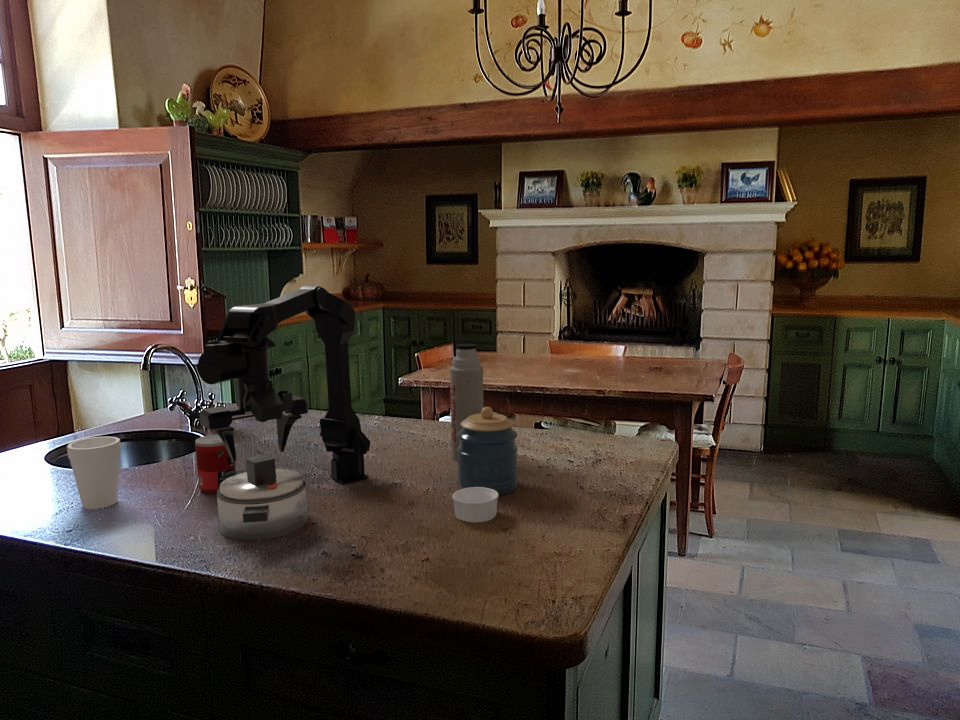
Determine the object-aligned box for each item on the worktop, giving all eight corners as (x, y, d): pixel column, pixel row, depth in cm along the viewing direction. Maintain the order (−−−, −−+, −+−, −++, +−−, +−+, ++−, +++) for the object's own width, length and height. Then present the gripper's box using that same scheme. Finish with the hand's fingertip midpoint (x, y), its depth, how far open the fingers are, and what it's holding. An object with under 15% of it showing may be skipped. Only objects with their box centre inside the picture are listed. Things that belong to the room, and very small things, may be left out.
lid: (283, 469, 144) (282, 442, 143) (316, 488, 132) (315, 459, 131) (208, 486, 134) (206, 457, 134) (237, 508, 123) (234, 476, 122)
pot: (229, 505, 144) (227, 471, 143) (310, 498, 147) (308, 466, 146) (208, 551, 122) (205, 513, 121) (304, 543, 125) (302, 505, 124)
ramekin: (465, 528, 131) (464, 505, 130) (445, 512, 139) (445, 491, 138) (506, 519, 135) (506, 497, 134) (485, 504, 143) (485, 483, 142)
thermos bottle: (452, 462, 170) (450, 347, 166) (451, 452, 178) (448, 342, 173) (485, 461, 171) (484, 346, 166) (482, 451, 179) (481, 341, 174)
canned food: (225, 494, 150) (221, 444, 148) (191, 492, 152) (187, 442, 150) (243, 482, 157) (240, 434, 156) (211, 481, 159) (207, 433, 157)
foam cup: (136, 498, 148) (130, 438, 146) (99, 514, 140) (92, 451, 138) (101, 493, 152) (94, 435, 149) (63, 509, 143) (56, 447, 141)
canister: (526, 481, 156) (526, 403, 153) (503, 501, 144) (503, 416, 141) (473, 474, 161) (472, 398, 158) (447, 492, 150) (445, 411, 147)
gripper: (216, 388, 119) (223, 477, 121) (319, 374, 130) (323, 455, 133) (195, 378, 127) (202, 462, 130) (293, 366, 139) (297, 443, 141)
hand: (258, 456), depth 133 cm, fingers open, 9 cm apart
